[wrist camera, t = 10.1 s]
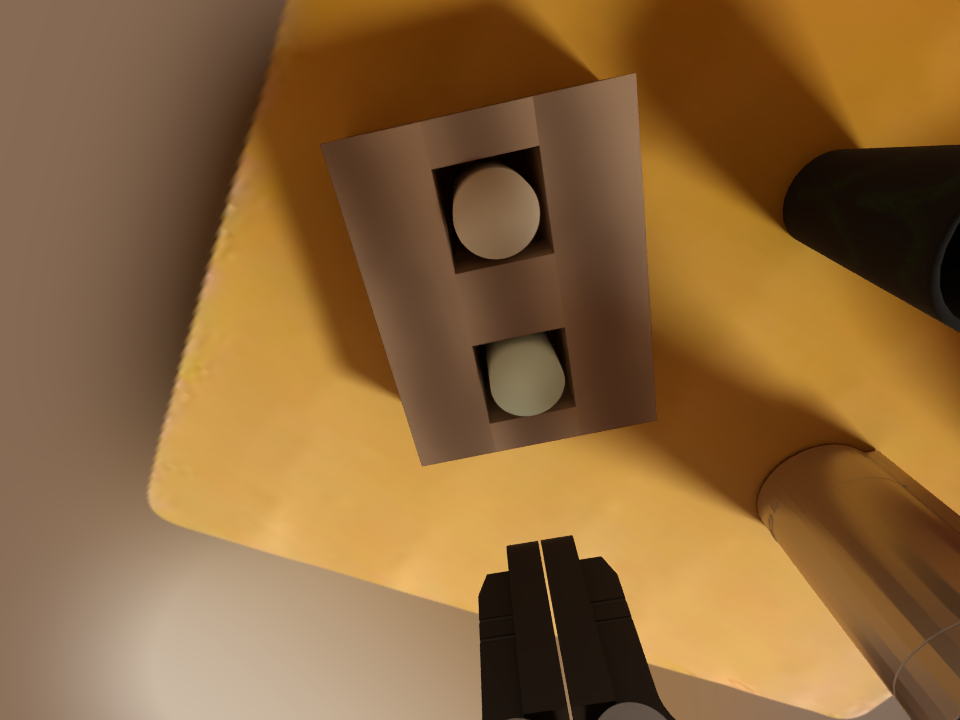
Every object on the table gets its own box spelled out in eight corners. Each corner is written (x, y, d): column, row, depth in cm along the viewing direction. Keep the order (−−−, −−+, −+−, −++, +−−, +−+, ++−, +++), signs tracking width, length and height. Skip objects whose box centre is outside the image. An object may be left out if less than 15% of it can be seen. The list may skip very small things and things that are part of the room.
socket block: (599, 80, 27) (635, 73, 22) (625, 373, 35) (656, 420, 30) (345, 137, 28) (320, 144, 23) (426, 412, 36) (421, 466, 30)
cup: (780, 283, 33) (940, 366, 22) (751, 170, 30) (921, 205, 19) (903, 226, 32) (1135, 285, 21) (886, 102, 29) (1149, 98, 18)
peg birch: (515, 150, 29) (532, 161, 23) (527, 221, 30) (545, 249, 24) (445, 165, 29) (443, 180, 23) (461, 235, 31) (463, 267, 25)
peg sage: (539, 299, 33) (559, 343, 27) (548, 355, 34) (569, 408, 28) (477, 312, 33) (483, 359, 27) (489, 367, 35) (498, 422, 28)
